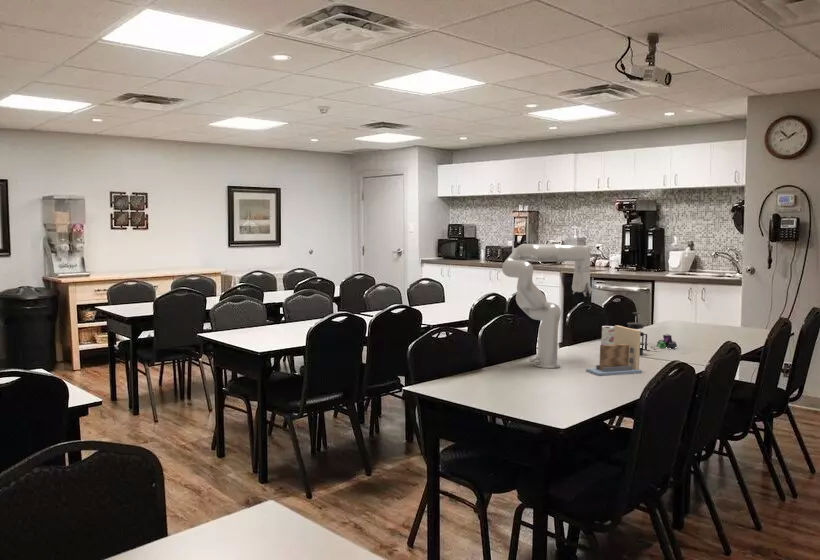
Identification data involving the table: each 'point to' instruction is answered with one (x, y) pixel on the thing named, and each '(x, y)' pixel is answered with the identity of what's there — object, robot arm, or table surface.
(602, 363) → the door
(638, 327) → the french press
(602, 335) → the candy bar box
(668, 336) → the mineral sample
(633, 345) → the cabinet side
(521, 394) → the table surface
